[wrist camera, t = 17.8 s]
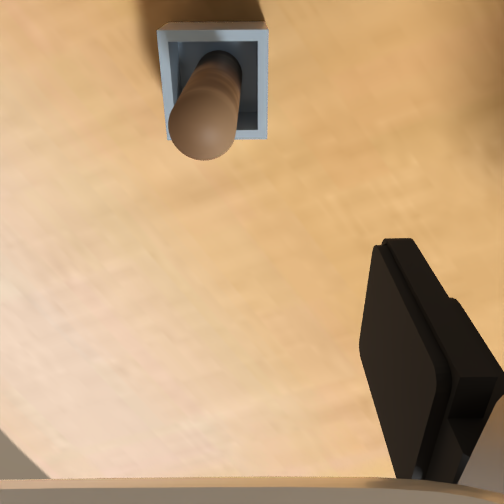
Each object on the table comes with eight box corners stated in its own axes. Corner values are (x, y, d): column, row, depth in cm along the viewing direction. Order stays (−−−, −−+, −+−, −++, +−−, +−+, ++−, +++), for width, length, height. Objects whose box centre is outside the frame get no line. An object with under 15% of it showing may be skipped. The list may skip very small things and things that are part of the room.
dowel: (242, 50, 32) (235, 93, 21) (242, 99, 33) (236, 160, 23) (194, 49, 32) (165, 92, 21) (197, 98, 33) (171, 160, 23)
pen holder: (264, 117, 35) (267, 139, 30) (177, 118, 35) (167, 140, 30) (265, 21, 31) (268, 29, 27) (168, 21, 31) (156, 30, 27)
